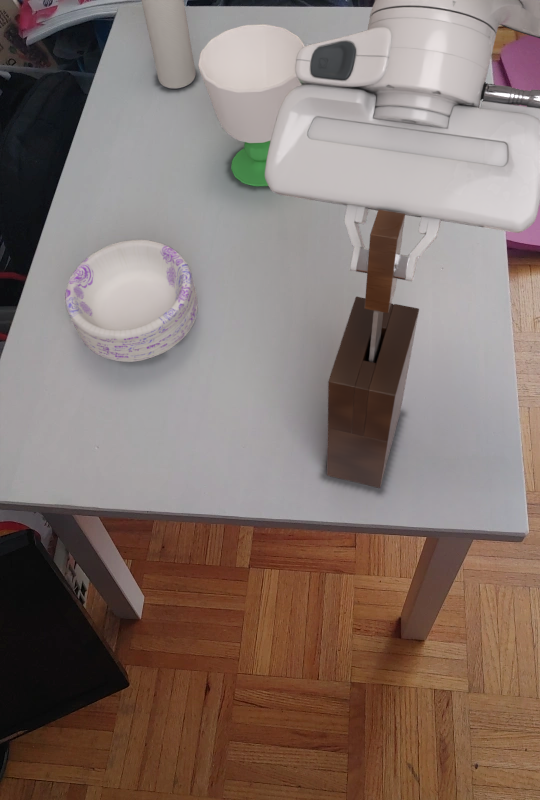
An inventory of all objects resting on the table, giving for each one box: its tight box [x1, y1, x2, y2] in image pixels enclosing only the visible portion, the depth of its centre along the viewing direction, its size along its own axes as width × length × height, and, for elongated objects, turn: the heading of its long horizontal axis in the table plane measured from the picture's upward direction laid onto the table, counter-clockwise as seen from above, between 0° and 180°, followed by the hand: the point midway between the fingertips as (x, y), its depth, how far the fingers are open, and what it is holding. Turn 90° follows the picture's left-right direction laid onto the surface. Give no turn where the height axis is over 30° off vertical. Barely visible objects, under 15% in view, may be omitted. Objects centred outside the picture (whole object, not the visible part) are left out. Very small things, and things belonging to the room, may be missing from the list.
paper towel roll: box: [140, 0, 197, 89], centre depth 102 cm, size 7×6×21 cm
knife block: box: [326, 296, 420, 489], centre depth 71 cm, size 6×10×18 cm, turn 163°
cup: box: [198, 23, 306, 187], centre depth 94 cm, size 14×14×16 cm
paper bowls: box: [64, 239, 199, 363], centre depth 85 cm, size 15×15×8 cm
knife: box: [364, 210, 406, 363], centre depth 58 cm, size 2×3×17 cm, turn 163°
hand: (380, 275), depth 54 cm, fingers closed on knife, 2 cm apart
